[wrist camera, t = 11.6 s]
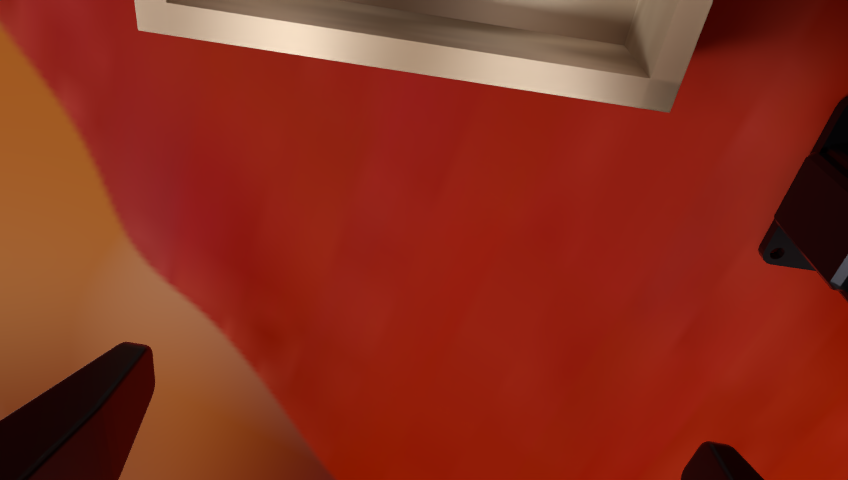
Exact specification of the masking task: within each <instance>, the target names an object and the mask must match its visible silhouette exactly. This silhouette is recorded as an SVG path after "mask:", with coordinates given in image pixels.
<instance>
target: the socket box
mask: <svg viewBox="0 0 848 480" xmlns="http://www.w3.org/2000/svg"><path fill="white" fill-rule="evenodd" d="M134 1H135V9H136V17H137V25H138V30H140V31H147V32H153V33H160V34H166V35H172V36H179V37H185V38H192V39H198V40H205V41H211V42H218V43H224V44H231V45H237V46H243V47H250V48H256V49H263V50H269V51H276V52H282V53H289V54H295V55H302V56H308V57H314V58H321V59H327V60H334V61H340V62H347V63H353V64H360V65H366V66H373V67H379V68H385V69H392V70H398V71H405V72H411V73H418V74H424V75H431V76H437V77H444V78H450V79H456V80H463V81H469V82H476V83H482V84H489V85H495V86H502V87H508V88H515V89H521V90H527V91H534V92H540V93H547V94H553V95H560V96H566V97H573V98H579V99H586V100H592V101H599V102H605V103H611V104H618V105H624V106H631V107H637V108H644V109H650V110H657V111H663V112H670V110H671V108H672V105H673V103H674V100H675V97H676V95H677V92H678V90H679V87H680V85H681V82H682V79H683V77H684V74H685V72H686V69H687V67H688V64H689V61H690V59H691V56H692V54H693V51H694V49H695V46H696V43H697V41H698V38H699V36H700V33H701V31H702V28H703V25H704V23H705V20H706V18H707V15H708V13H709V10H710V7H711V5H712V2H713V0H134Z"/></svg>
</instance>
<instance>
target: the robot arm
mask: <svg viewBox="0 0 848 480" xmlns="http://www.w3.org/2000/svg"><path fill="white" fill-rule="evenodd" d="M776 248H779V249H778V250H777V251H776V252H774V253H770V252H771V251H772V250H774V249H776ZM758 251H759V254H760V255H761V257H762V258H763V260H764V261H765V262H766V263H769V264H772V265H779V266H786V267H793V268H800V269H806V270H813V271H817V273H818V274H819V275H820V276H821V277H822V279H823V280H824V281H825V282H826V283H827V285H828V286H829V287H830V288H831V289H833V290H838V291H839V293H840V294H841V295H842V296H843V297H844V299H845V300H846V301H847V302H848V97H846V98H844V99H843V100H841V101H840V102H839V103H838V105H837V106H836V107H835V109H834V111H833V113H832V115H831V116H830V118H829V120H828V122H827V124H826V126H825V127H824V129H823V131H822V133H821V135H820V137H819V138H818V140H817V142H816V144H815V146H814V147H813V149H812V151H811V153H810V155H809V156H808V157H806V159H805V161H804V162H803V164H802V166H801V168H800V170H799V171H798V173H797V175H796V177H795V179H794V181H793V182H792V184H791V186H790V188H789V190H788V192H787V193H786V195H785V197H784V199H783V201H782V203H781V204H780V206H779V208H778V210H777V212H776V213H775V216H774V220H773V222H772V224H771V226H770V228H769V229H768V231H767V233H766V235H765V237H764V238H763V240H762V242H761V244H760V246H759V249H758ZM154 387H155V375H154V364H153V354H152V350H151V348H150V347H149V346H147V345H143V344H137V343H131V342H123V343H121V344H119V345H117V346H115V347H114V348H112V349H111V350H109V351H107V352H106V353H104V354H103V355H101V356H100V357H98V358H97V359H95V360H94V361H92V362H90V363H89V364H87V365H86V366H84V367H83V368H81V369H80V370H78V371H76V372H75V373H73V374H72V375H70V376H69V377H67V378H66V379H64V380H63V381H61V382H60V383H58V384H56V385H55V386H53V387H52V388H50V389H49V390H47V391H46V392H44V393H42V394H41V395H39V396H38V397H36V398H35V399H33V400H31V401H30V402H28V403H27V404H25V405H24V406H22V407H21V408H19V409H18V410H16V411H14V412H13V413H11V414H10V415H8V416H7V417H5V418H4V419H2V420H0V480H118V479H119V477H120V475H121V472H122V470H123V467H124V465H125V462H126V460H127V458H128V455H129V453H130V450H131V448H132V445H133V443H134V440H135V438H136V435H137V433H138V430H139V428H140V425H141V423H142V420H143V418H144V415H145V413H146V410H147V408H148V405H149V403H150V401H151V398H152V395H153V392H154ZM681 480H764V479H763V478H762V477H761V476H760V475H759V474H758V473H757V472H756V471H755V470H754V469H753V468H752V467H751V465H750V464H749V463H748V462H747V461H746V460H745V459H744V458H743V457H742V456H741V455H740V454H739V453H738V452H737V451H736V450H735V449H734V448H733V447H731V446H729V445H727V444H721V443H716V442H710V441H708V442H704V443H702V444H701V445H700V447H699V448H698V449H697V451H696V452H695V454H694V455H693V457H692V458H691V459H690V461H689V462H688V464H687V465H686V467H685V468H684V470H683V472H682V476H681Z"/></svg>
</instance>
